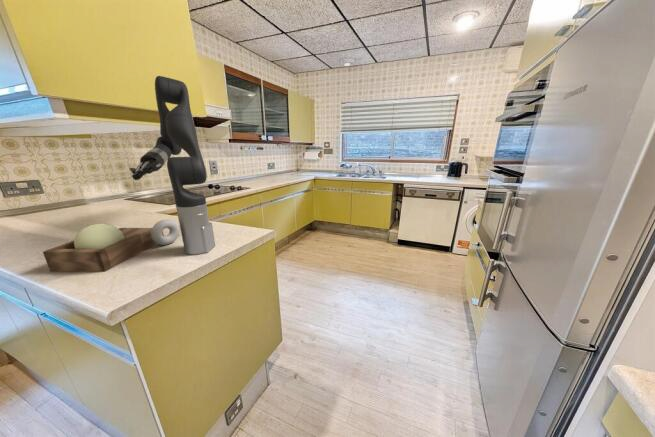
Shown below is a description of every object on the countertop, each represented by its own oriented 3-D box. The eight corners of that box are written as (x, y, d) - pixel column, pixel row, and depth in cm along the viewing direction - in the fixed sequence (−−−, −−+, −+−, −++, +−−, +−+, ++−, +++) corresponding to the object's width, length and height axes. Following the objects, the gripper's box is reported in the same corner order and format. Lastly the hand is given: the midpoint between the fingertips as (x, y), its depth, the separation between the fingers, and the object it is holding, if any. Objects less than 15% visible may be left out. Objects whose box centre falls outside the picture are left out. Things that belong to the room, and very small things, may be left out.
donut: (157, 249, 84) (151, 224, 81) (151, 248, 86) (145, 222, 83) (183, 240, 93) (179, 217, 90) (178, 239, 94) (173, 216, 91)
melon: (96, 229, 69) (105, 265, 72) (130, 220, 81) (136, 251, 83) (57, 229, 69) (67, 265, 72) (96, 220, 81) (104, 251, 83)
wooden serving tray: (164, 239, 94) (161, 224, 92) (105, 271, 69) (99, 251, 67) (123, 239, 94) (119, 224, 92) (50, 271, 69) (42, 251, 67)
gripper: (134, 155, 99) (111, 173, 86) (163, 147, 99) (145, 165, 86) (146, 170, 104) (125, 189, 90) (174, 163, 104) (158, 182, 90)
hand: (135, 177), depth 88 cm, fingers closed
